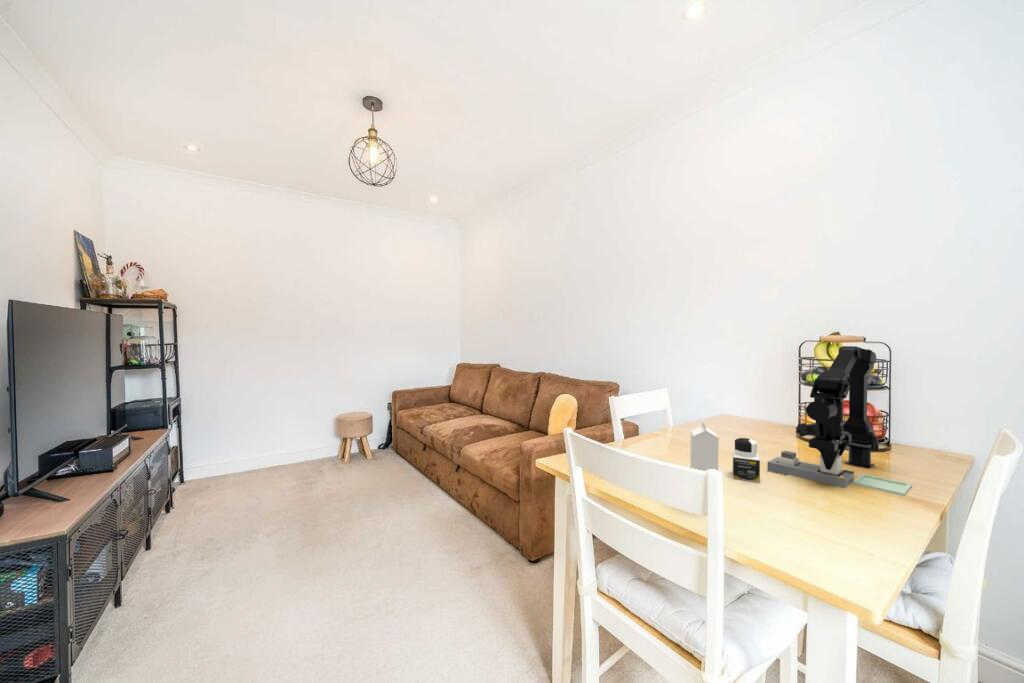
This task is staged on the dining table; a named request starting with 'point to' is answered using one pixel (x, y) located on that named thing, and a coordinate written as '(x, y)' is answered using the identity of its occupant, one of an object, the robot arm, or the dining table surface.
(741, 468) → the medicine bottle
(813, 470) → the grey socket board
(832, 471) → the plug
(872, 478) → the parts tray
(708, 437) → the milk
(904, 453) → the dining table surface
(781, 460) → the twin plug
